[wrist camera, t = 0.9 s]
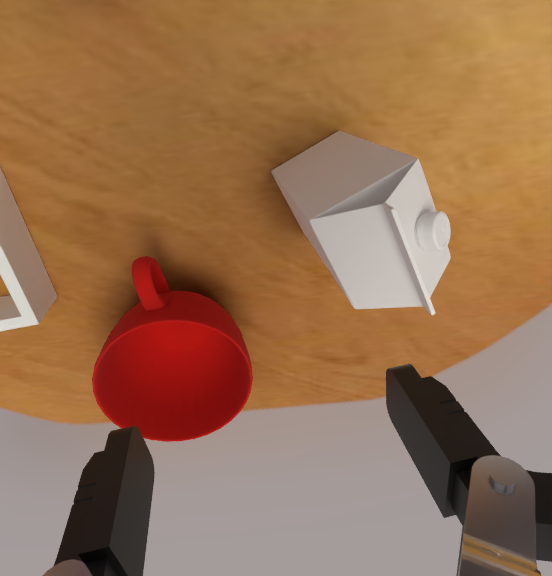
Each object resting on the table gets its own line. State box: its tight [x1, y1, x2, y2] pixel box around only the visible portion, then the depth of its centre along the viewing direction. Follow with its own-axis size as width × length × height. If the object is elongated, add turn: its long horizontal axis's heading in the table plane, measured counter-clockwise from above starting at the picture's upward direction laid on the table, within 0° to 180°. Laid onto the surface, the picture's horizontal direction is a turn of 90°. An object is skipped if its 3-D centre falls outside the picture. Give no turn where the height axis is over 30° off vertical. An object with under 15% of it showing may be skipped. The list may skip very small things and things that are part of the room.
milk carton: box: [271, 131, 451, 315], centre depth 29 cm, size 7×7×19 cm
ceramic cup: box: [92, 256, 253, 441], centre depth 36 cm, size 13×17×10 cm
